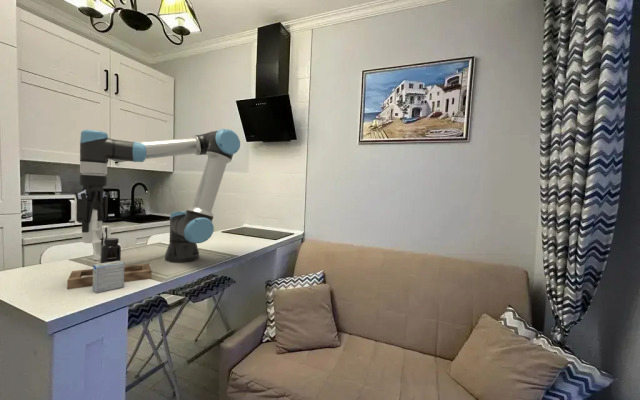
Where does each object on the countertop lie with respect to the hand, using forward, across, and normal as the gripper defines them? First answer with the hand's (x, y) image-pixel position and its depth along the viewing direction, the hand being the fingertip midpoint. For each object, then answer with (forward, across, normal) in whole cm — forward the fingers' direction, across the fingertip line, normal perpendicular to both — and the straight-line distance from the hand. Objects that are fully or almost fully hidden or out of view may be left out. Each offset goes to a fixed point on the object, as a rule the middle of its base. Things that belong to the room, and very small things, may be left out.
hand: (92, 239), depth 100 cm
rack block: (+15, -3, +5) cm, 16 cm away
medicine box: (+15, +6, +10) cm, 19 cm away
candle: (+1, 0, 0) cm, 1 cm away
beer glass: (+15, -29, -16) cm, 36 cm away
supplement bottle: (+15, -17, -4) cm, 23 cm away
